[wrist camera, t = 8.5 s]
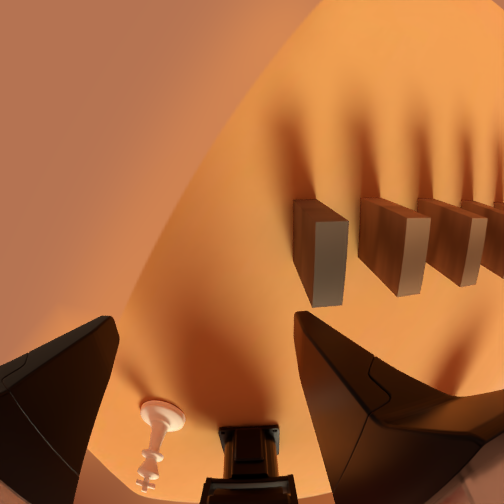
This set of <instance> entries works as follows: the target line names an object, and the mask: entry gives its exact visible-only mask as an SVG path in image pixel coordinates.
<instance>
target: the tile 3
mask: <svg viewBox="0 0 504 504" xmlns="http://www.w3.org/2000/svg"><path fill="white" fill-rule="evenodd" d="M417 212H418V213H421V214H423V215H425V216H428V217H430V218H431V223H430V232H429V241H428V249H427V256H426V263H428V264H429V265H431V266H432V267H433V268H435V269H436V270H438V271H439V272H440V273H442V274H443V275H444V276H446V277H447V278H448V279H450V280H451V281H453V282H454V283H455V284H456V285H458V286H459V287H464V286H470V285H475V284H476V281H477V277H478V272H479V268H480V263H481V258H482V253H483V247H484V241H485V235H486V227H487V220H488V218H486V217H483V216H481V215H478V214H475V213H473V212H470V211H467V210H464V209H462V208H459V207H456V206H453V205H450V204H447V203H444V202H441V201H438V200H435V199H422V198H418V207H417Z"/></svg>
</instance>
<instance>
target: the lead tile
mask: <svg viewBox="0 0 504 504" xmlns="http://www.w3.org/2000/svg"><path fill="white" fill-rule="evenodd" d="M348 226H349V221H348V220H346V219H345V218H343V217H342V216H341V215H339V214H338V213H336V212H335V211H333V210H332V209H330V208H329V207H327V206H326V205H324V204H323V203H321V202H320V201H318V200H317V199H311V200H293V262H294V265H295V267H296V269H297V272H298V274H299V277H300V279H301V281H302V284H303V286H304V289H305V291H306V294H307V296H308V298H309V301H310V303H311V306H312V308H315V307H327V306H338V305H342V301H343V292H344V282H345V271H346V259H347V244H348Z"/></svg>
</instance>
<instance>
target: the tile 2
mask: <svg viewBox="0 0 504 504" xmlns="http://www.w3.org/2000/svg"><path fill="white" fill-rule="evenodd" d="M430 223H431V218H430V217H428V216H425V215H423V214H421V213H418V212H416V211H413V210H411V209H408V208H406V207H403V206H401V205H398V204H396V203H393V202H391V201H388V200H385V199H383V198H361V212H360V235H359V251H358V258H359V259H360V260H361V261H362V262H363V263H364V264H365V265H366V266H367V267H368V268H369V269H370V270H371V271H372V272H373V273H374V274H375V275H376V276H377V277H378V278H379V279H380V280H381V281H382V282H383V283H384V284H385V285H386V286H387V287H388V288H389V289H390V290H391V291H392V292H393V293H394V294H395V295H396V296H397V297H402V296H409V295H415V294H420V290H421V285H422V280H423V274H424V269H425V262H426V256H427V249H428V241H429V232H430Z"/></svg>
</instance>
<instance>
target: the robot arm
mask: <svg viewBox="0 0 504 504" xmlns="http://www.w3.org/2000/svg"><path fill="white" fill-rule="evenodd" d="M119 340H120V339H119V334H118V331H117V327H116V324H115V321H114V319H113V317H111V316H100V317H98V318H96V319H94V320H92V321H90V322H88V323H86V324H84V325H82V326H80V327H78V328H76V329H74V330H72V331H70V332H68V333H66V334H64V335H62V336H60V337H58V338H56V339H54V340H52V341H50V342H48V343H46V344H44V345H42V346H40V347H38V348H36V349H34V350H32V351H30V352H29V353H26V354H24V355H22V356H20V357H18V358H16V359H14V360H12V361H10V362H8V363H6V364H3V365H1V366H0V504H73V501H74V497H75V492H76V488H77V484H78V480H79V475H80V471H81V467H82V463H83V460H84V456H85V453H86V449H87V446H88V442H89V439H90V436H91V432H92V429H93V426H94V423H95V420H96V416H97V413H98V410H99V407H100V404H101V401H102V399H103V396H104V393H105V390H106V387H107V384H108V382H109V379H110V376H111V372H112V368H113V364H114V360H115V356H116V353H117V349H118V345H119ZM294 343H295V350H296V356H297V363H298V370H299V376H300V380H301V384H302V388H303V391H304V395H305V398H306V401H307V405H308V408H309V412H310V415H311V419H312V422H313V426H314V429H315V433H316V436H317V440H318V443H319V447H320V450H321V454H322V457H323V461H324V464H325V468H326V472H327V475H328V479H329V482H330V486H331V489H332V493H333V497H334V501H335V504H504V389H503V390H499V391H494V392H489V393H484V394H479V395H473V396H467V397H457V396H451V395H448V394H445V393H443V392H441V391H439V390H436V389H434V388H432V387H430V386H428V385H426V384H424V383H422V382H420V381H418V380H416V379H414V378H412V377H410V376H408V375H406V374H404V373H403V372H401V371H399V370H397V369H395V368H394V367H392V366H390V365H389V364H387V363H385V362H384V361H382V360H381V359H379V358H378V357H376V356H375V357H374V355H373V354H371V353H370V352H368V351H367V350H365V349H364V348H362V347H361V346H359V345H358V344H356V343H355V342H353V341H352V340H350V339H349V338H347V337H346V336H344V335H343V334H341V333H340V332H338V331H337V330H335V329H334V328H332V327H331V326H329V325H328V324H326V323H325V322H323V321H322V320H320V319H319V318H317V317H316V316H314V315H313V314H311V313H310V312H308V311H298V312H295V314H294ZM218 433H219V437H220V440H221V444H222V448H223V451H224V474H223V479H216V478H208V477H207V478H206V483H204V486H203V491H202V496H201V500H200V503H199V504H298V499H297V494H296V488H295V483H294V477H293V474H291V475H288V476H279V473H278V463H277V455H278V454H279V427H278V426H260V427H231V428H219V432H218Z"/></svg>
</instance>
